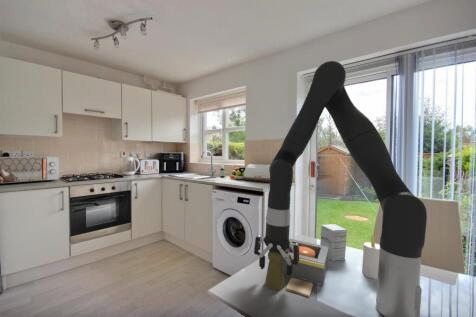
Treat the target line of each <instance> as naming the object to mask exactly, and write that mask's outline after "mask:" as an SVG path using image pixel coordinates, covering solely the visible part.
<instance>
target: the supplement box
mask: <svg viewBox="0 0 476 317" xmlns="http://www.w3.org/2000/svg"><path fill="white" fill-rule="evenodd" d="M347 232H348V229H346V228H343V227H341V226H339V225H337V224H335V223H331V224H321V228H320V243H319V245H322V246H327V247H329V251H328V261H331V262H333V261H342V260H346V251H347V250H346V249H347V248H346V247H347V234H348V233H347Z"/></svg>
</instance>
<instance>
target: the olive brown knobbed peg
mask: <svg viewBox="0 0 476 317" xmlns="http://www.w3.org/2000/svg"><path fill="white" fill-rule="evenodd" d="M267 259H268V265H267V270H266V275H265V280H264V285H265V287H267V288H268V289H270V290H272V291H279V290H280V291H281V290H283V289H284V287H285V282H284V281H285V280H284V274H283V266H282V262H283V260H284V258H283V256H282V254H279V253H277V252H271V251H268V252H267Z"/></svg>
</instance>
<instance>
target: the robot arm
mask: <svg viewBox="0 0 476 317" xmlns="http://www.w3.org/2000/svg"><path fill="white" fill-rule="evenodd" d="M346 76H347V74H346V69H345V67H344V66H343V64H342V63H341V62H339V61H336V60H335V61H334V60H329V61H325V62H323V63H322V64H320V65H319V66H318V67H317V69H316V70H315V71H314V74H313V77H312V80H311V84H310V86H309V91H308V92H307V95H306V97H305V100H304V102H303V104H302V106H301V108H300V109H299V112H298V114H297V116H296V118H295V119H294V121H293V123H292V125H291V126H290V128H289V130H288V131H287V134H286V136H285V137H284V140H283V142H282V144H281V146H280V149H279V150H278V151H277V153H276V154H275V156H274V158H273V160H272V162H271V163H270V165H269V167H268V169H269V170H268V171H269V191H268V194H267V207H266V208H267V210H266V215H265V234H264V236H262V234H258V235H257V236H256V237H255V240H254V248H253V254H254V255H257V256H258V257H259V259H258V260H259V261H258V262H259V263H258V266H259V267H260V269H261V270H264V269H265V266H266V254H268V252H269V251H271V252H277V253H279V254H282V256H283V258H284V259H285V260H286V262H287V263H288V264H287V275H286V277H291V276H290V275H291V274H292V270H293V264H295V265H297V264H298V262H299V243H290V241H289V239H290V229H291V227H290V226H291V225H290V224H291V210H290V209H291V189H292V187H293V186H292V184H293V178H294V169H293V167H294V166H295V164H296V162H297V160H298V159H299V158H300V157H301V155H303V153H304V151H305V149H307V146H308V144H309V142H310V141H311V139H312V137H313V134H314V132H315V130H316V127H317V125H318V123H319V120H320V118H321V116H322V114H323V112H324V110H325V109H326V111H327V112H328V113H329V115H330V117H331V119H332V121H333V123H334V126H335V127H336V130H337V131H338V134H339V136H340V138H341V140H342V142H343V144H344V145H345V148H346V149H347V151H348V153H349V154H350V156H351V157H352V159H353V160H354V162H355V163H356V165H357V166H358V167H359V169H360V170H361V171H362V173H363V174H364V175H365V176H366V178H367V179H368V181H369V182H370V184H371V186H372V188H373V190H374V192H375V194H376V197H377V200H378V202H379V204H380V208H381V210H382V220H381V221H382V223H381V233H380V237H379V245H380V249H379V265H378V279H376V281H377V282H376V283H377V284H376V296H375V297H376V298H375V307H376V310H377V312H379V313H380V314H381V315H382V317H421V304H422V294H423V293H422V292H423V291H422V287H421V285H420V281H421V280H420V279H421V278H420V276H421V263H422V262H421V261H422V252H423V248H424V246H425V241H426V230H427V221H428V216H427V214H428V213H427V211H428V210H427V208H426V206H425V204H424V202H423V201H422V200H421V199H420V198H419V197H417V196H416V195H415V194H413V192H412V191H411V190H410V189H409V188H408V187H407V185H406V183H405V182H404V181H403V180H402V178H401V177H400V175H399V173H398V172H397V170H396V168H395V166H394V163H393V160H392V158H391V154H390V152H389V150H388V148H387V145H386V143H385V141H384V139H383V138H382V135H381V134H380V133H379V131H378V129H377V128H376V127H375V125H374V123H373V122H372V121H371V120H370V119H369V118H368V117H367V116H366V115H365V114H364V113H363V112H361V111H360V110H359V109H358V108H357V107H356V105H354V103H353V102H352V100H351V98H350V96H349V94H348V92H347V90H346V87H345V82H346V78H347V77H346ZM263 242H264V245H265V248H264V249H263V250H261V244H262V243H263ZM289 247H291V249H292V251H294V259H292V257H291V255H290V252H289V251H288V248H289Z"/></svg>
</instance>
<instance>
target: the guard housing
mask: <svg viewBox="0 0 476 317" xmlns="http://www.w3.org/2000/svg"><path fill="white" fill-rule="evenodd" d="M289 241H290V243H299V246H302V247H307V248H310V249H312V250H314V251H315V258H312V257H307V256H303V255H299V262H298V264H297V265H295V264H293V270H292V274H291V275H290V276H289V277H292V278H296V277H297V278H296V279H300V278H301V279H300V280H303V281H306V282H310V283H313V284H317V285H321V286H324V283H325V278H326V275H327V270H328V264H329V259H328V251H329V247H327V246H322V245H320V244H317V243H312V242H308V241H303V240H298V239H293V238H289ZM288 251H289V252H290V255H291V257H292V259H294V253H293V251H292V249H291V247H289V248H288ZM287 264H288V263H287V262H286V260H285V259H284V260H283V262H282V266H283V275H286V276H287Z"/></svg>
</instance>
